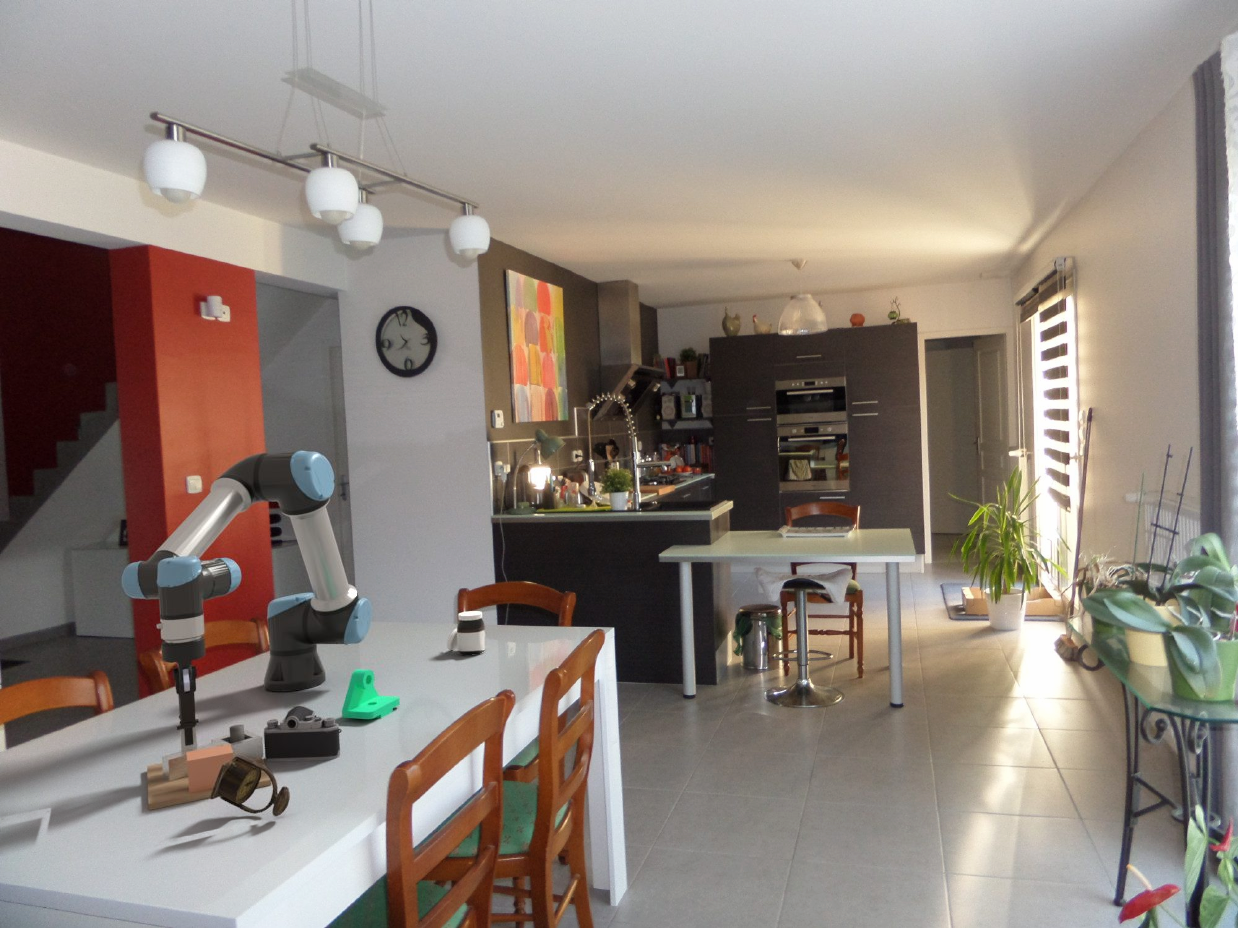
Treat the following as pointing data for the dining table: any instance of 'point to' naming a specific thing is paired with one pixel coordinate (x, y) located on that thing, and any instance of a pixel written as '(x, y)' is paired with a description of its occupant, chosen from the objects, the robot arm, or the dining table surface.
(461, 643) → the spread jar
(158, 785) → the board
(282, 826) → the dining table surface
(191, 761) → the block
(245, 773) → the brass desk clock
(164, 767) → the link
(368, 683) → the camera mount
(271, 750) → the camera
